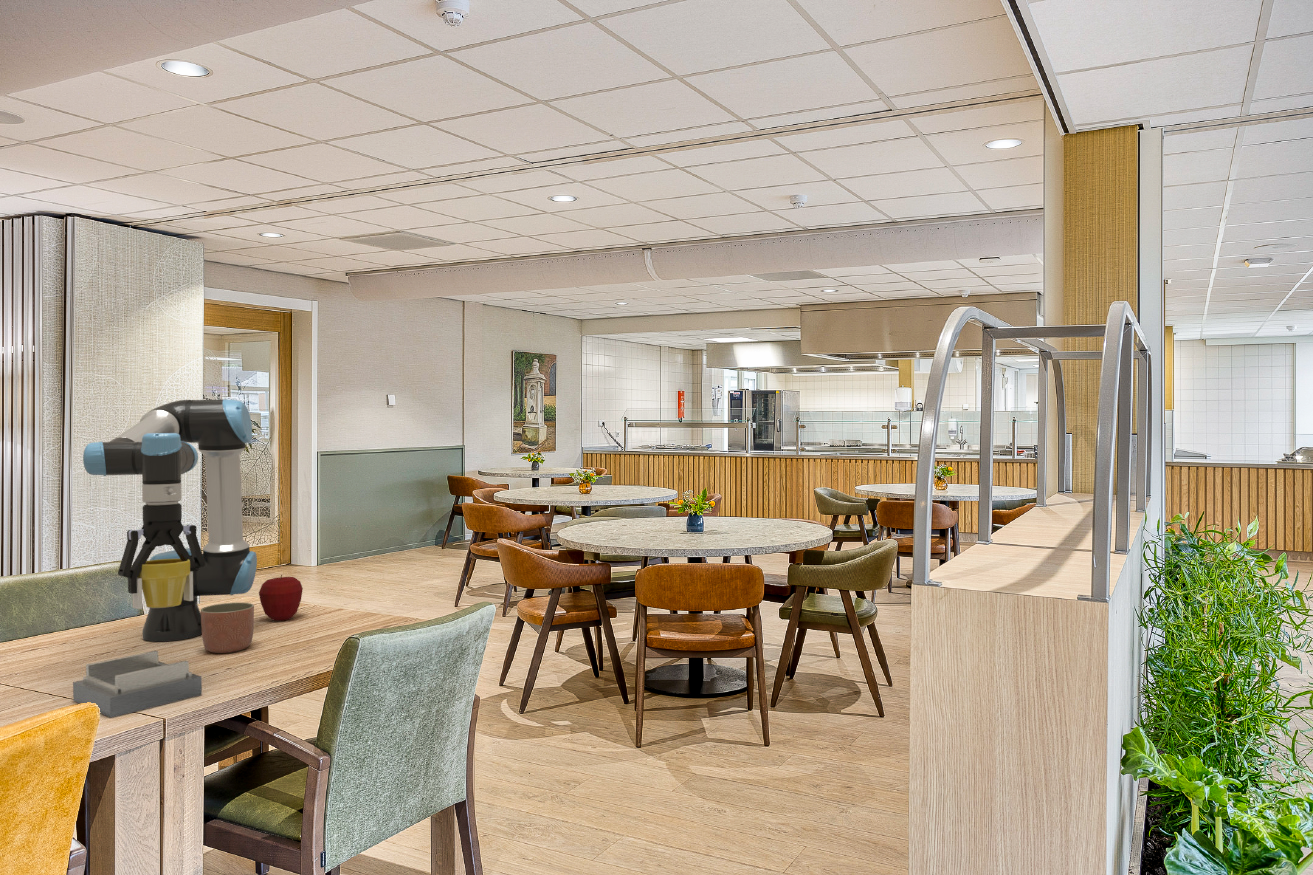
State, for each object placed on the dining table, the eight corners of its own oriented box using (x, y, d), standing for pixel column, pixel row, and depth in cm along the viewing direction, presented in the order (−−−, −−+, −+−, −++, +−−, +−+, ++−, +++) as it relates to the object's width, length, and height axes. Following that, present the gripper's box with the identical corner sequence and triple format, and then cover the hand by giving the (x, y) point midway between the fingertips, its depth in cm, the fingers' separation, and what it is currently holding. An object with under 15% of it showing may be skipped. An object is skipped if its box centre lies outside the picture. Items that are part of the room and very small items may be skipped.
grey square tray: (70, 699, 189) (70, 664, 189) (159, 679, 203) (159, 646, 203) (110, 717, 177) (109, 680, 177) (201, 694, 192) (201, 660, 192)
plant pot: (150, 601, 201) (149, 558, 201) (198, 600, 202) (197, 557, 202) (127, 610, 191) (127, 565, 191) (178, 609, 192) (177, 563, 192)
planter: (265, 646, 233) (264, 604, 233) (224, 657, 222) (223, 614, 221) (231, 641, 238) (231, 600, 238) (190, 652, 227) (189, 609, 227)
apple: (294, 613, 272) (294, 569, 272) (309, 619, 264) (308, 574, 264) (253, 619, 264) (252, 574, 264) (267, 625, 256) (266, 579, 255)
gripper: (114, 507, 185) (115, 614, 185) (221, 500, 203) (223, 597, 203) (98, 506, 189) (99, 610, 189) (204, 499, 207) (206, 594, 208)
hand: (163, 604), depth 196 cm, fingers closed on plant pot, 10 cm apart
